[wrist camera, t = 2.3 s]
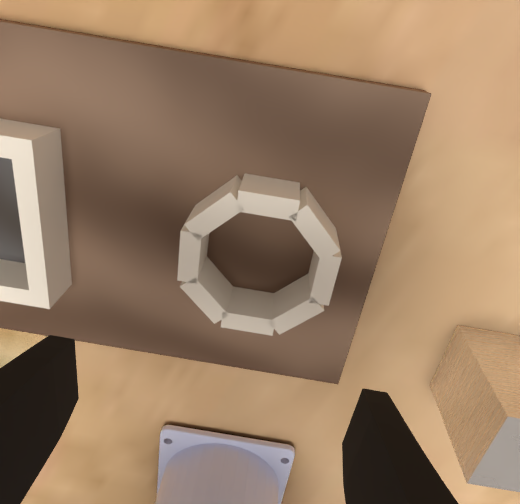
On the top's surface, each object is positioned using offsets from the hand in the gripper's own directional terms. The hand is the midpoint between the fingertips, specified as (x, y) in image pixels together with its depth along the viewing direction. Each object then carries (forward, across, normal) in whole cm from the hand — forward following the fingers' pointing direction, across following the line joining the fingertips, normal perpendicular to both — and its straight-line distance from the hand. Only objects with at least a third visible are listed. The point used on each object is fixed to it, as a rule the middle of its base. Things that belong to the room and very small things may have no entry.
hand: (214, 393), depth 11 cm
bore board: (+9, +5, 0) cm, 11 cm away
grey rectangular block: (+10, -13, +5) cm, 17 cm away
